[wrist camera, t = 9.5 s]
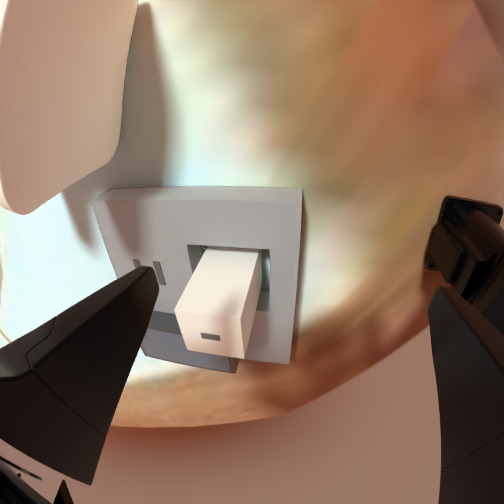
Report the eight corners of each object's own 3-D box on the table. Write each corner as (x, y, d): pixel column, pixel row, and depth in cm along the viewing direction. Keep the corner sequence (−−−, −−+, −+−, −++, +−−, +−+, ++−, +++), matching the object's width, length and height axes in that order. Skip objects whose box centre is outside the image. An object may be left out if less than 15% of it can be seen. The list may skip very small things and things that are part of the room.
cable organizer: (125, 165, 20) (17, 243, 10) (45, 153, 20) (-46, 209, 11) (150, -15, 11) (27, -49, 2) (55, 9, 11) (-49, 18, 2)
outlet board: (302, 188, 19) (301, 203, 16) (291, 344, 28) (289, 364, 26) (108, 189, 21) (90, 202, 19) (153, 325, 31) (144, 342, 29)
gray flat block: (235, 322, 24) (229, 340, 22) (239, 357, 27) (235, 374, 25) (136, 307, 25) (127, 322, 24) (152, 341, 28) (144, 356, 27)
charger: (261, 242, 22) (239, 319, 15) (262, 281, 24) (244, 359, 17) (212, 238, 22) (173, 310, 16) (217, 277, 24) (187, 350, 18)
